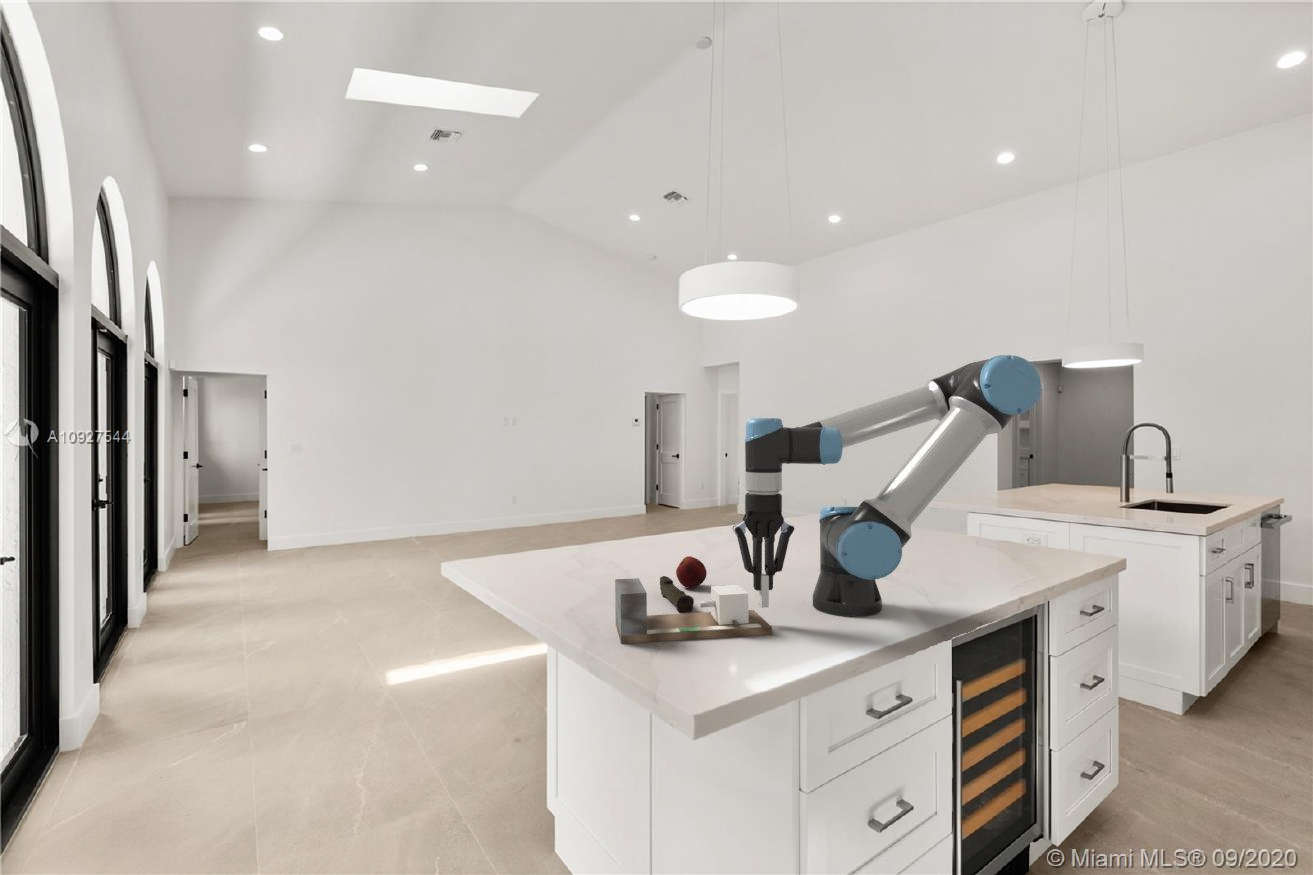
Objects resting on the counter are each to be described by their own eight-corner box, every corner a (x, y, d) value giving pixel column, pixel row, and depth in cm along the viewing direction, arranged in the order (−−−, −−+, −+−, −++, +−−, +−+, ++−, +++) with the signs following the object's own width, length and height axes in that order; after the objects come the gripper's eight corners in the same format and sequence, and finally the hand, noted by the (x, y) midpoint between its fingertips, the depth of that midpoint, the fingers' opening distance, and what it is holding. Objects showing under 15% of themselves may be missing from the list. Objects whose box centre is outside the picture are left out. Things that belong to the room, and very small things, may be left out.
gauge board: (753, 616, 136) (753, 573, 136) (771, 634, 124) (771, 586, 124) (615, 624, 132) (615, 579, 131) (621, 643, 120) (620, 594, 120)
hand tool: (694, 613, 140) (694, 592, 140) (677, 614, 139) (677, 593, 139) (672, 592, 158) (672, 573, 158) (657, 593, 157) (657, 574, 157)
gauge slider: (738, 613, 133) (738, 585, 133) (752, 627, 123) (752, 596, 123) (697, 615, 132) (697, 587, 132) (707, 629, 122) (707, 599, 122)
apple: (678, 583, 166) (677, 553, 166) (707, 584, 165) (707, 554, 165) (675, 590, 158) (674, 559, 158) (705, 591, 157) (705, 560, 157)
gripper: (787, 490, 135) (786, 599, 135) (728, 491, 133) (727, 602, 133) (800, 493, 127) (799, 609, 127) (738, 494, 125) (737, 612, 126)
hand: (763, 605), depth 130 cm, fingers closed
